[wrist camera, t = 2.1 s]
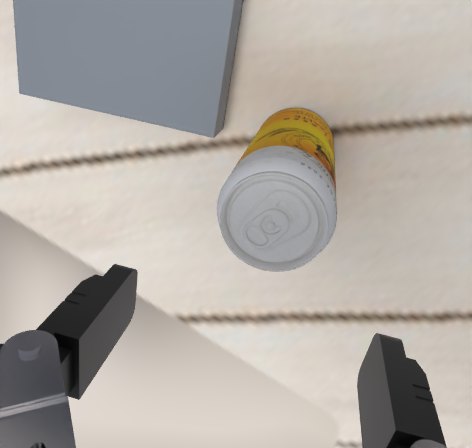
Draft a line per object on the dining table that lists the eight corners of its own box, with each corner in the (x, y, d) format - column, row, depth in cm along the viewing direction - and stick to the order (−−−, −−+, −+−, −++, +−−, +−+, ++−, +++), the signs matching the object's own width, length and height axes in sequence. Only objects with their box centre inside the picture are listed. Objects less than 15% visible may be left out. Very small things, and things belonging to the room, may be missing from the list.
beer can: (349, 149, 33) (364, 235, 19) (290, 194, 35) (267, 297, 22) (299, 89, 32) (279, 137, 18) (242, 141, 34) (187, 215, 21)
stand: (261, -116, 27) (254, -131, 24) (222, 128, 34) (213, 137, 31) (32, -153, 28) (1, -172, 26) (42, 88, 36) (19, 93, 33)
